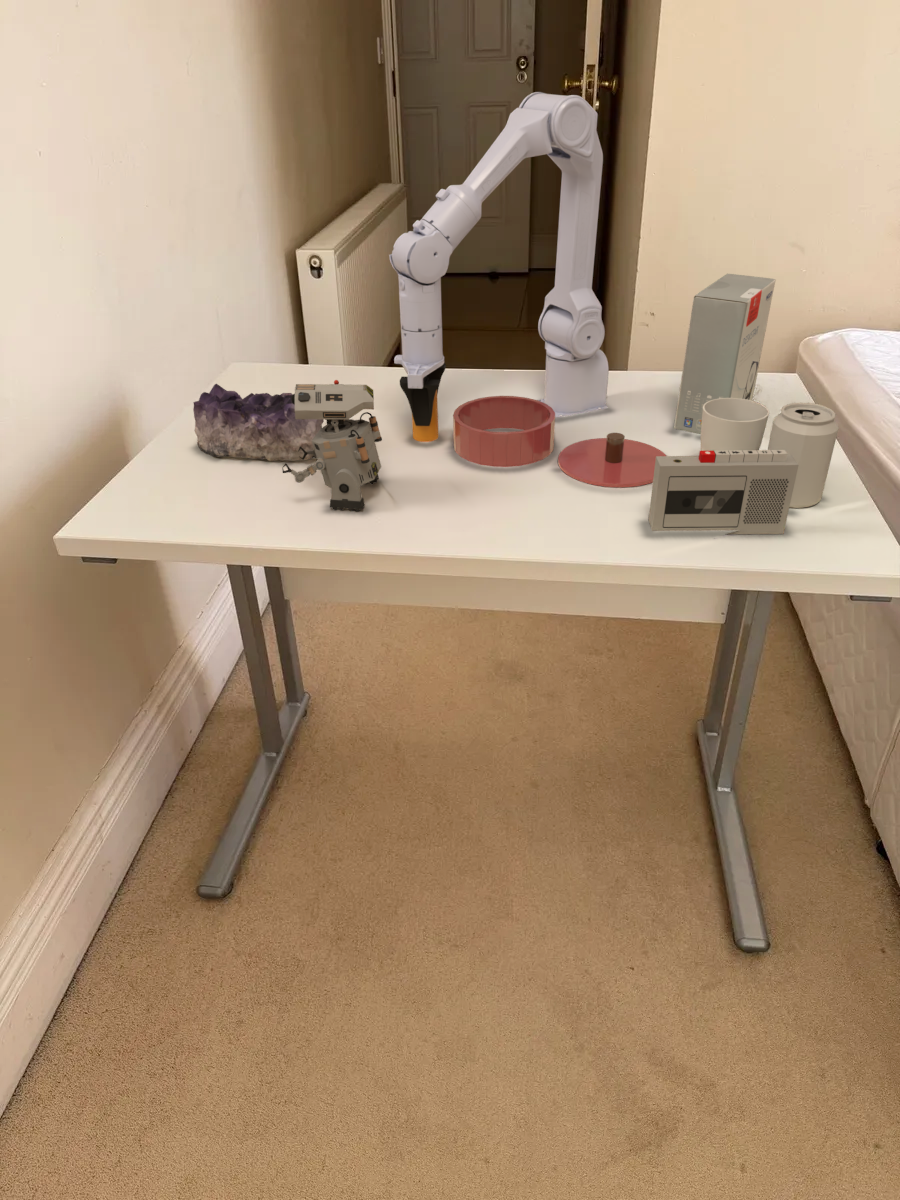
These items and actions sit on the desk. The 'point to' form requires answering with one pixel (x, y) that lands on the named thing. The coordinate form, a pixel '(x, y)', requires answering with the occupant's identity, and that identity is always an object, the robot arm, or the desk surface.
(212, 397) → the geode
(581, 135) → the robot arm
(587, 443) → the lid
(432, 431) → the candle
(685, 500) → the cassette player
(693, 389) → the hard drive box
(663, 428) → the desk surface
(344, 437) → the figurine
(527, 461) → the pot
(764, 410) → the cup
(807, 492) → the can
